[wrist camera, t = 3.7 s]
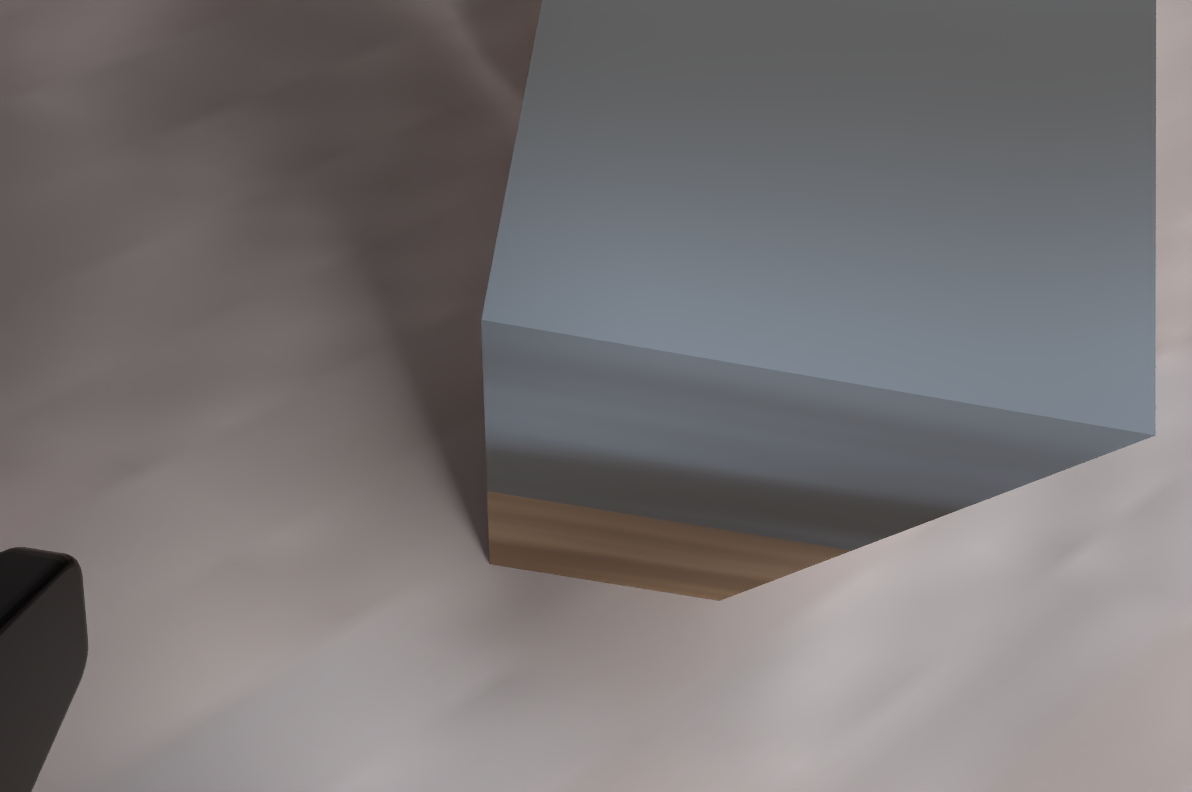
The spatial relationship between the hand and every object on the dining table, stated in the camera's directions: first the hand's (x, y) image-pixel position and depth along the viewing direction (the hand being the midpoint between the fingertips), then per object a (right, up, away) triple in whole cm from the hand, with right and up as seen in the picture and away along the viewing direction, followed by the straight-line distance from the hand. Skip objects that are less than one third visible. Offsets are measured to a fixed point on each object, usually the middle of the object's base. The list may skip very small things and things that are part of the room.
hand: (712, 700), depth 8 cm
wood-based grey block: (0, +1, +11) cm, 11 cm away
